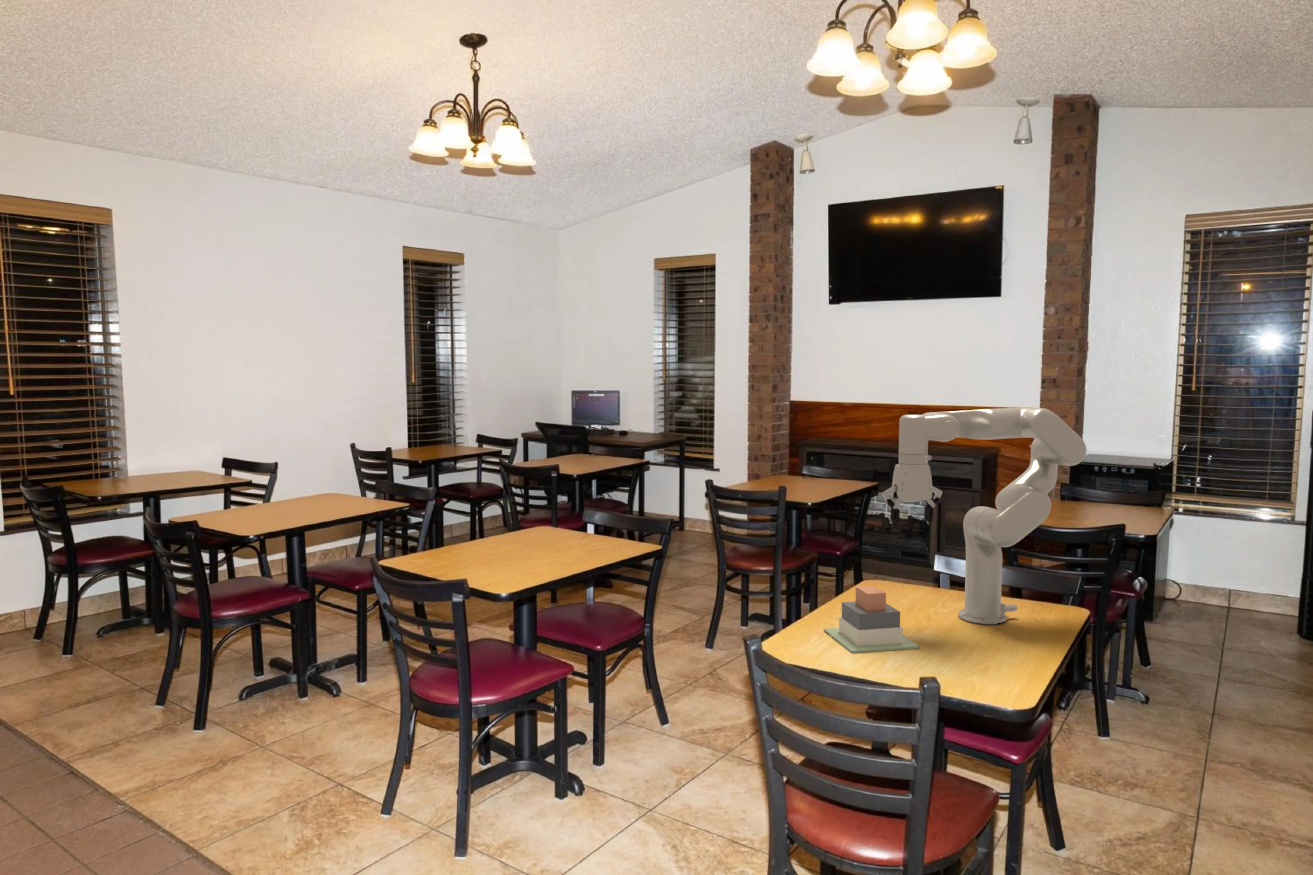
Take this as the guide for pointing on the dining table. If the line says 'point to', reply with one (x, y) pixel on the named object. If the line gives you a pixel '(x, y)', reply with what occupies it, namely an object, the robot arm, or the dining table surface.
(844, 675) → the dining table surface
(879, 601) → the terracotta brick
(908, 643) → the stepped block pyramid
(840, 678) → the dining table surface
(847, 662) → the dining table surface
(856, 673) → the dining table surface
